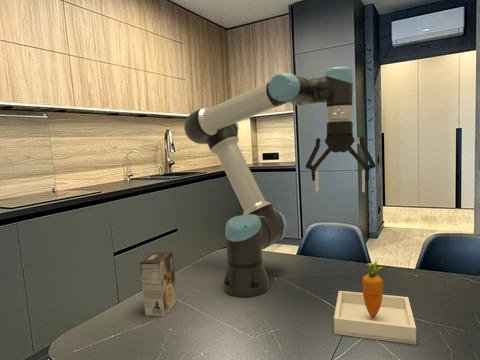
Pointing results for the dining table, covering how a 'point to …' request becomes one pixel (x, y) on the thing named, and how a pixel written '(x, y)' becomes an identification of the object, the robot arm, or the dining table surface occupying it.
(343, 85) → the robot arm
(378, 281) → the carrot
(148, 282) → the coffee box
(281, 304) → the dining table surface
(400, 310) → the tray
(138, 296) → the dining table surface
